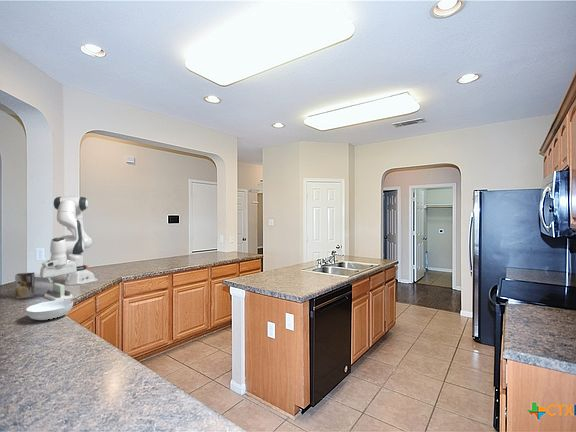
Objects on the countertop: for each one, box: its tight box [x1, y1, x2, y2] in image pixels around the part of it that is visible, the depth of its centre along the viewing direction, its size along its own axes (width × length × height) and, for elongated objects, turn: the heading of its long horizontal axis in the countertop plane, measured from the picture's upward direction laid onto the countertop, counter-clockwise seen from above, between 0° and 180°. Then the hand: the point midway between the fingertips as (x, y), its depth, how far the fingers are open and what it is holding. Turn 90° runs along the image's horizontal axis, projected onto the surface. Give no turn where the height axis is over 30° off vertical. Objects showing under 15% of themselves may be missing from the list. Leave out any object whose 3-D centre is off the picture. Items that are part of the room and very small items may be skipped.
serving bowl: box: [25, 299, 74, 321], centre depth 167 cm, size 21×21×7 cm
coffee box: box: [14, 272, 36, 300], centre depth 202 cm, size 9×6×16 cm
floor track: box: [44, 289, 73, 301], centre depth 202 cm, size 10×17×4 cm, turn 58°
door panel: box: [52, 282, 66, 296], centre depth 202 cm, size 2×12×7 cm, turn 58°
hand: (59, 281), depth 202 cm, fingers open, 8 cm apart
